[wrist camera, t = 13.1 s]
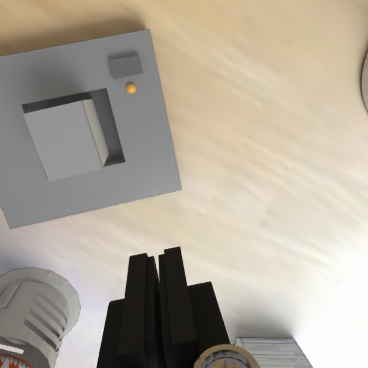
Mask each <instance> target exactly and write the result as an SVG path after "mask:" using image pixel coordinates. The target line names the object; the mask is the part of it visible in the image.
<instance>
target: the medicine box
mask: <svg viewBox="0 0 368 368" xmlns="http://www.w3.org/2000/svg"><path fill="white" fill-rule="evenodd" d="M235 345H236V346H239V347H242V348H243V349H245V350H246V351H248V352H249V353H250V354H251V355H252V356H253V357H254V358H255V360H256V361H257V363H258V365H259V366H260V368H313V367H312V365H311V364H310V362H309V361H308V359H307V358H306V356H305V354H304V353H303V351H302V350H301V348H300V347H299V345H298V344H297V342H296V340H295V339H273V338H236V342H235Z"/></svg>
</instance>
